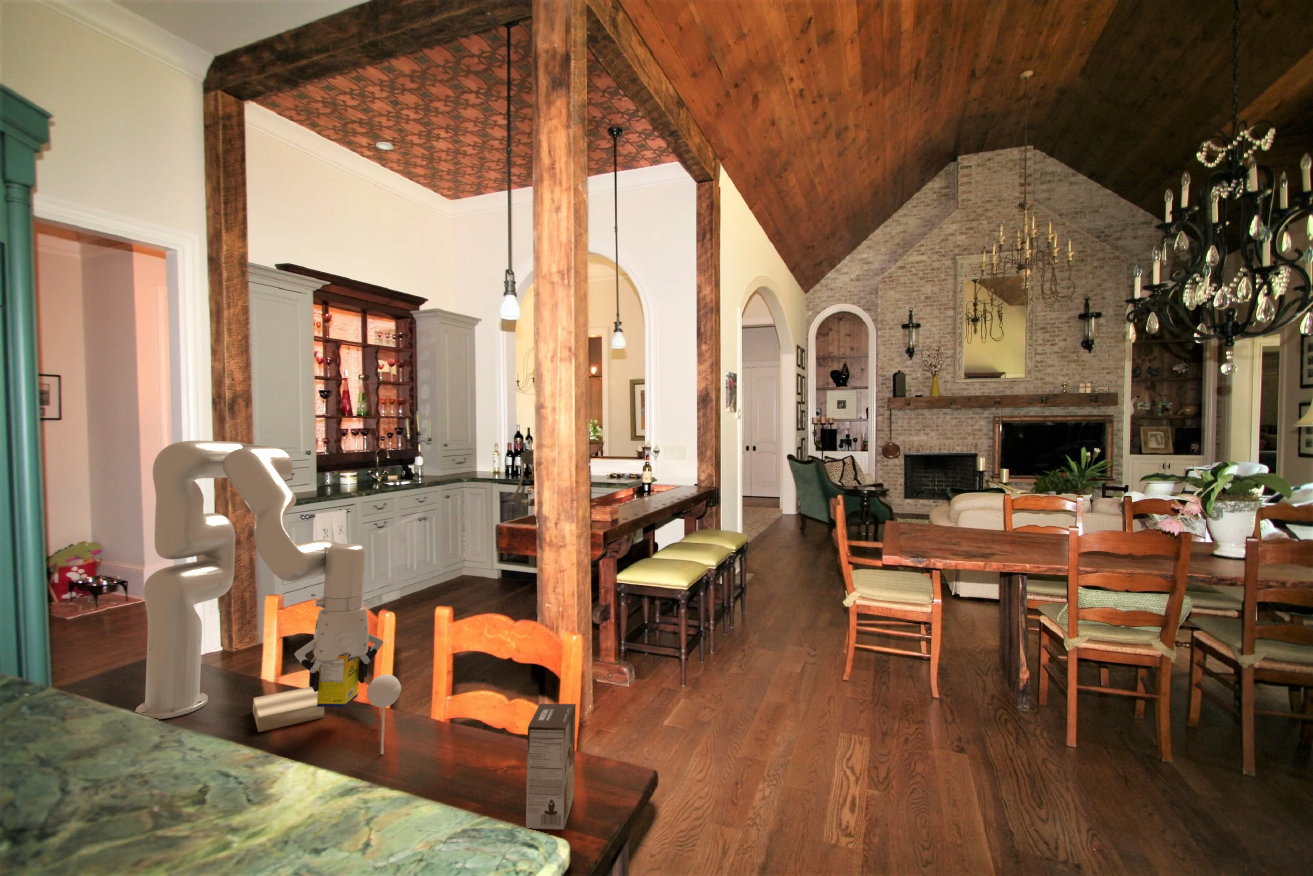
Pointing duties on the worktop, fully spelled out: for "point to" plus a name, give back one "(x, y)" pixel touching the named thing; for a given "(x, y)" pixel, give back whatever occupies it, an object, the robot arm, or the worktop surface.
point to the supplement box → (338, 681)
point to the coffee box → (550, 766)
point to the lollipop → (383, 696)
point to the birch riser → (286, 708)
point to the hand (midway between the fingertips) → (338, 685)
